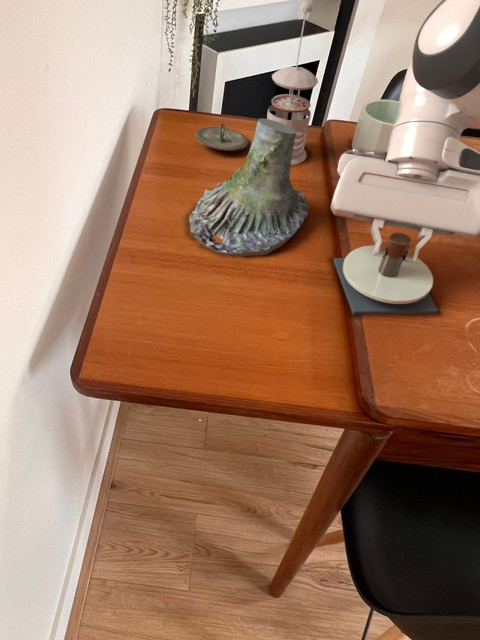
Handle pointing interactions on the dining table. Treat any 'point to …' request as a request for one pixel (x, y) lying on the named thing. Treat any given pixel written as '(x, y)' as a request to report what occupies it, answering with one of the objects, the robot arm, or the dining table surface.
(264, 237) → the tree stump
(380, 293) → the basin lid
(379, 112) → the basin
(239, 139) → the lid
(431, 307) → the mat
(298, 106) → the french press
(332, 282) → the dining table surface
